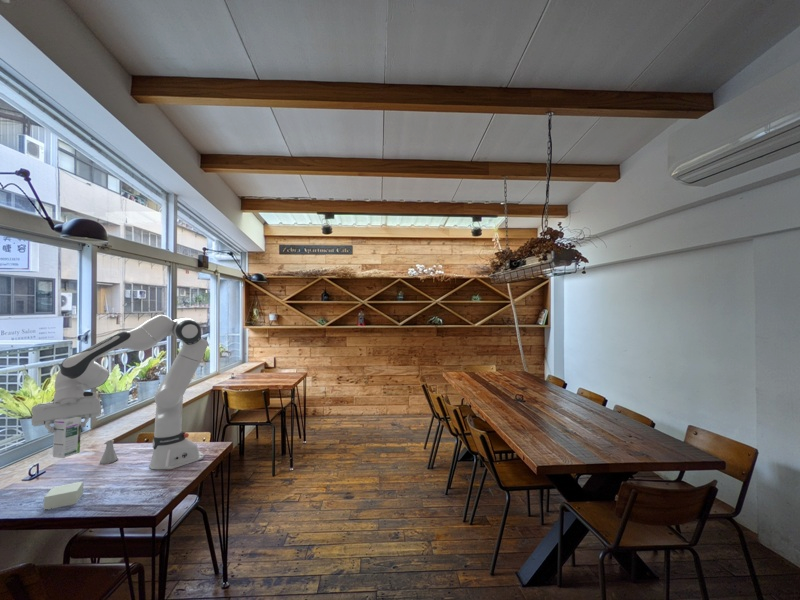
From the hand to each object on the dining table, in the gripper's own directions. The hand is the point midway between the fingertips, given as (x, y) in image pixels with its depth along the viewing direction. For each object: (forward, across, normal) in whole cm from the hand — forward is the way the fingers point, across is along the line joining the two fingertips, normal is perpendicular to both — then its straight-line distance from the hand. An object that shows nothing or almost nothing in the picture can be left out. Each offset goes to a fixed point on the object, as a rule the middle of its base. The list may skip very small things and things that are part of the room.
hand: (67, 429), depth 135 cm
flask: (-6, +16, +45) cm, 48 cm away
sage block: (+20, 0, +19) cm, 28 cm away
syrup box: (+7, 0, +8) cm, 10 cm away
